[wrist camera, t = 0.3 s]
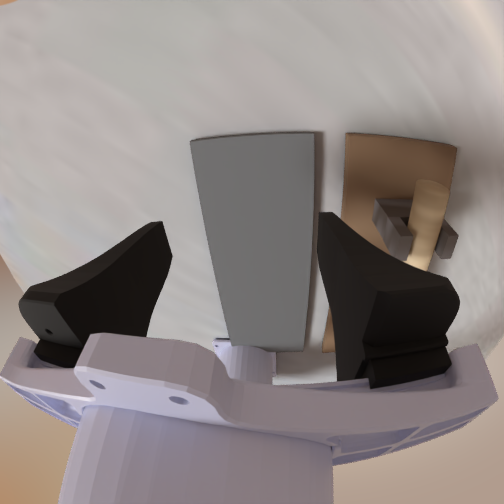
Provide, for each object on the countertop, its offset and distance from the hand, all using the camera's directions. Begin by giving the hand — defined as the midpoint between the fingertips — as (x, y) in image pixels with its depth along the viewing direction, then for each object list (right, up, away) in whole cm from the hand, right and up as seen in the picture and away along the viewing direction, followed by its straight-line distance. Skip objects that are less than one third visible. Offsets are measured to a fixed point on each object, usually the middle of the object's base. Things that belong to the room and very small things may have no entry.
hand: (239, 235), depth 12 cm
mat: (+2, -3, +14) cm, 14 cm away
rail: (+13, -5, +10) cm, 17 cm away
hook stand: (+14, -2, +13) cm, 19 cm away
